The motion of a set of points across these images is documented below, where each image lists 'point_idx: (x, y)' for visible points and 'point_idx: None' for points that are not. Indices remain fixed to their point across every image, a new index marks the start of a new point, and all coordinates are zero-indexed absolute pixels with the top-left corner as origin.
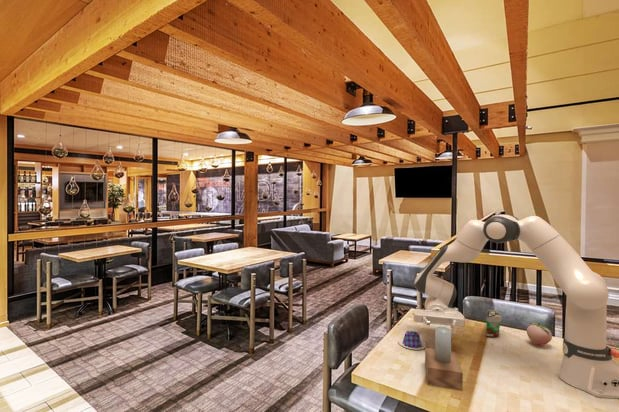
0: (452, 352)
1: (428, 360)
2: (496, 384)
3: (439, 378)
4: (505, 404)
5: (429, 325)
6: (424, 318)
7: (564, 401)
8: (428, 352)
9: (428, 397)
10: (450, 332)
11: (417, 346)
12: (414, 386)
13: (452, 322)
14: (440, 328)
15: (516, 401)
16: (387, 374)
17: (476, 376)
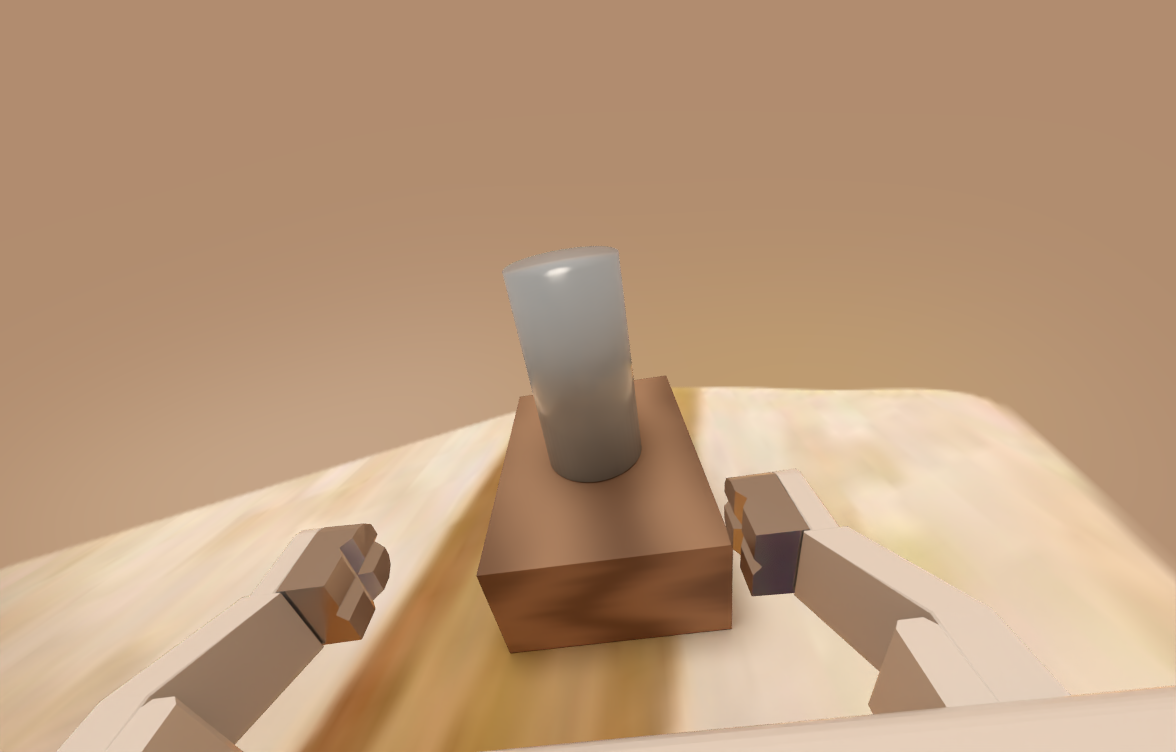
0: (506, 558)
1: (673, 415)
2: None
3: None
4: (415, 448)
5: (729, 528)
6: (905, 574)
7: (153, 538)
8: (690, 486)
9: None
10: (518, 261)
11: None
12: (717, 415)
13: (287, 586)
14: (579, 261)
15: (361, 473)
16: (863, 433)
17: (415, 588)
